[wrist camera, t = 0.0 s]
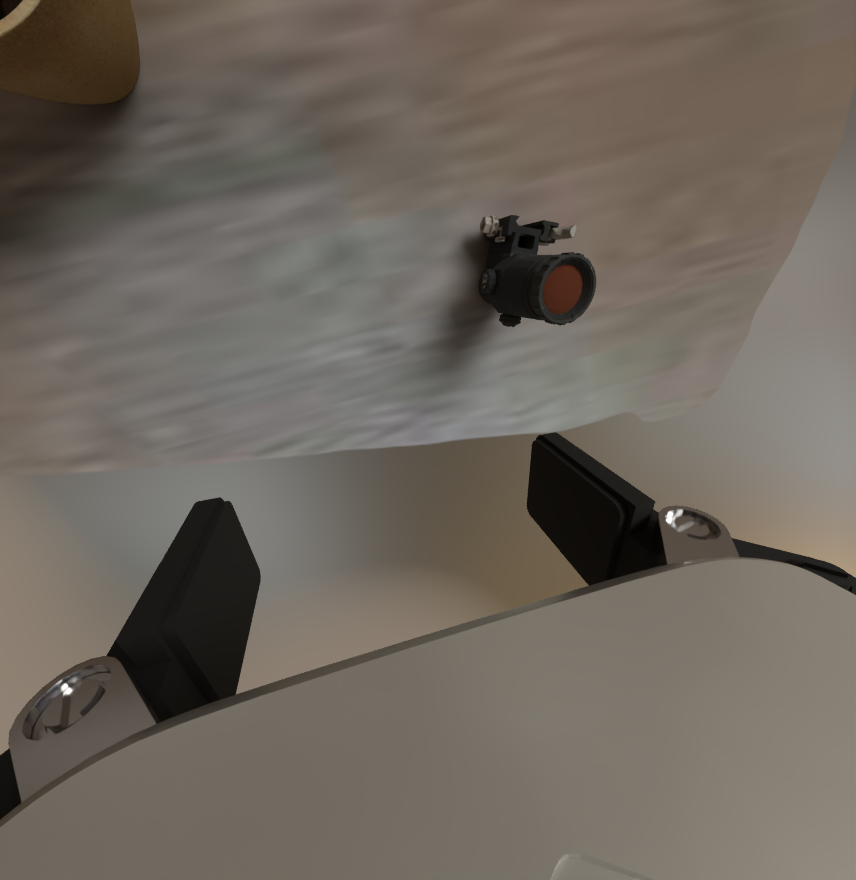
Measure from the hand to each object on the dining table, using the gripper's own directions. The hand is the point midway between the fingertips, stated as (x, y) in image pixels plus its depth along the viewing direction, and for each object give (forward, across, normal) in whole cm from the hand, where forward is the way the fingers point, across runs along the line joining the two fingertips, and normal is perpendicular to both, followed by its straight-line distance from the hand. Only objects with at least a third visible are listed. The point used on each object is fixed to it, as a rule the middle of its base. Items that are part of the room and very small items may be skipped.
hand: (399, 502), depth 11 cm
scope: (+31, -18, -5) cm, 37 cm away
